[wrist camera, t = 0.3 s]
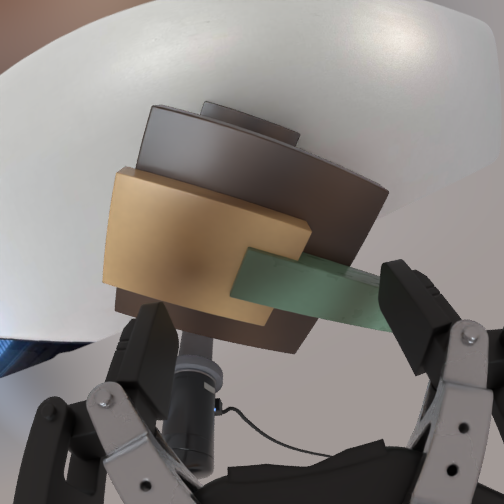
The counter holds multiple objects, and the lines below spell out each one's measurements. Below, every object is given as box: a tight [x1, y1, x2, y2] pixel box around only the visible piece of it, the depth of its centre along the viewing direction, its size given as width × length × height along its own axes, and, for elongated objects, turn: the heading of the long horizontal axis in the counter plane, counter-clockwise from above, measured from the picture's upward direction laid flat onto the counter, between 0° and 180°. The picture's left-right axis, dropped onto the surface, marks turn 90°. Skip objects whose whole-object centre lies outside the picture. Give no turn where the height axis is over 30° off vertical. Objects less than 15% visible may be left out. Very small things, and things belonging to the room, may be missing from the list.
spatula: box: [102, 166, 393, 333], centre depth 15 cm, size 20×6×2 cm, turn 70°
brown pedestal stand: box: [115, 101, 389, 354], centre depth 25 cm, size 12×12×24 cm
